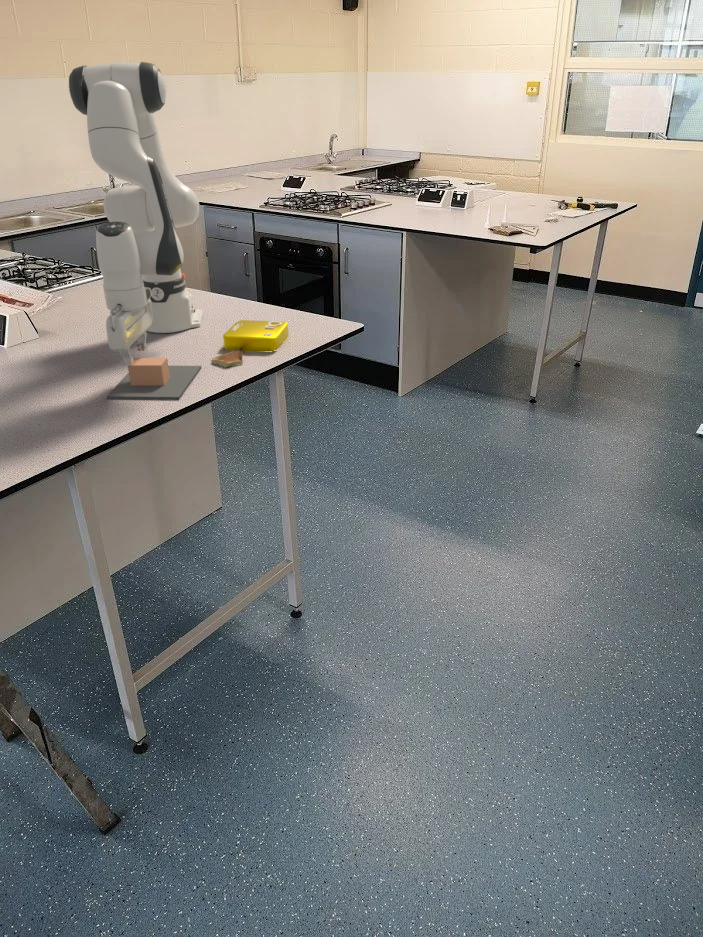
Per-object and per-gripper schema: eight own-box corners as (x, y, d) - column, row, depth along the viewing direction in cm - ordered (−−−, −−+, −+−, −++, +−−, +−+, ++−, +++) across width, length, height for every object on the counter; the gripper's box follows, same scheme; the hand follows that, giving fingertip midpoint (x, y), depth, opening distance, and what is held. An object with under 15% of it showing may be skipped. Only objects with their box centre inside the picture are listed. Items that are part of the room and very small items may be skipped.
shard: (242, 353, 193) (241, 346, 192) (261, 358, 189) (261, 352, 188) (210, 364, 186) (209, 357, 185) (230, 370, 181) (229, 363, 181)
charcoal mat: (135, 367, 183) (135, 365, 183) (201, 368, 182) (201, 365, 182) (106, 398, 166) (106, 396, 166) (179, 399, 165) (179, 397, 164)
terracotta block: (134, 358, 173) (166, 358, 173) (137, 377, 176) (169, 377, 175) (127, 365, 169) (161, 365, 168) (131, 385, 171) (164, 385, 171)
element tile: (239, 334, 207) (238, 317, 205) (290, 336, 204) (289, 319, 202) (222, 351, 194) (220, 334, 192) (276, 354, 191) (275, 336, 189)
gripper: (123, 312, 154) (134, 373, 161) (153, 286, 172) (161, 342, 179) (94, 312, 155) (106, 372, 161) (127, 287, 173) (136, 342, 179)
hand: (135, 356), depth 170 cm, fingers open, 8 cm apart
